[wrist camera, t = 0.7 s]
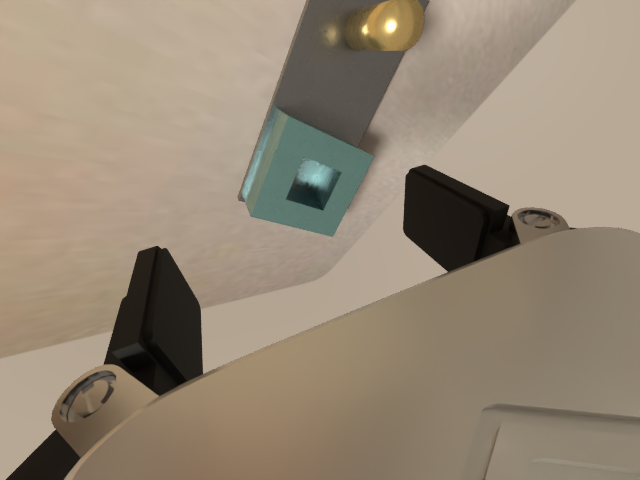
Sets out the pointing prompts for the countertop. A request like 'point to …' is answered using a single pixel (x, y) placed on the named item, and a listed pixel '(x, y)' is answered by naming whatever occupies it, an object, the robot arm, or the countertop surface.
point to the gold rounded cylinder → (385, 26)
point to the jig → (317, 123)
